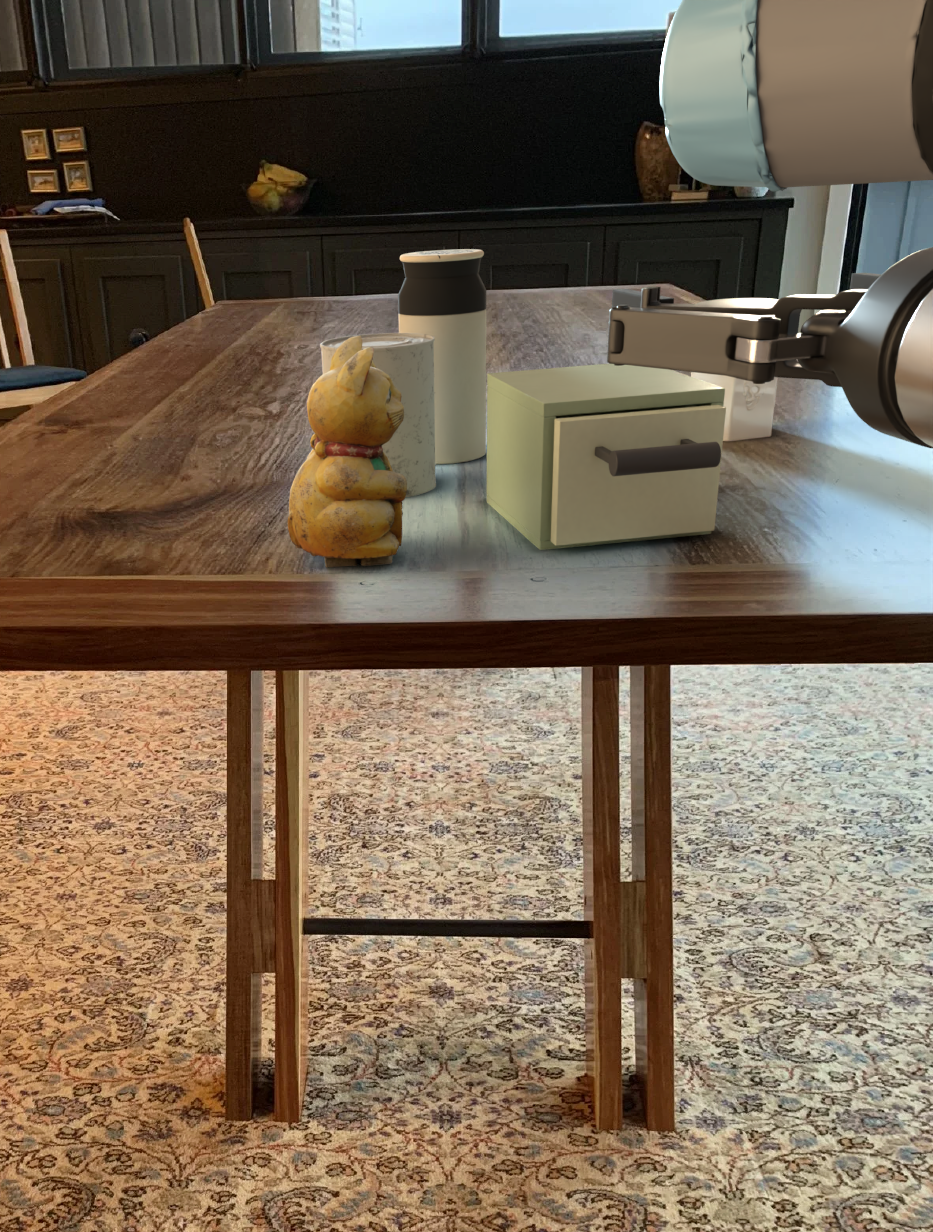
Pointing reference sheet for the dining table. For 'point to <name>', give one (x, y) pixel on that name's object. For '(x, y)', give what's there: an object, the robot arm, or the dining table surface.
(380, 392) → the decorative figurine
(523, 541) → the dining table surface
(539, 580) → the dining table surface
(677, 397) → the cabinet
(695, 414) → the drawer
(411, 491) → the white can
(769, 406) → the jar
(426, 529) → the dining table surface
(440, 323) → the travel mug
